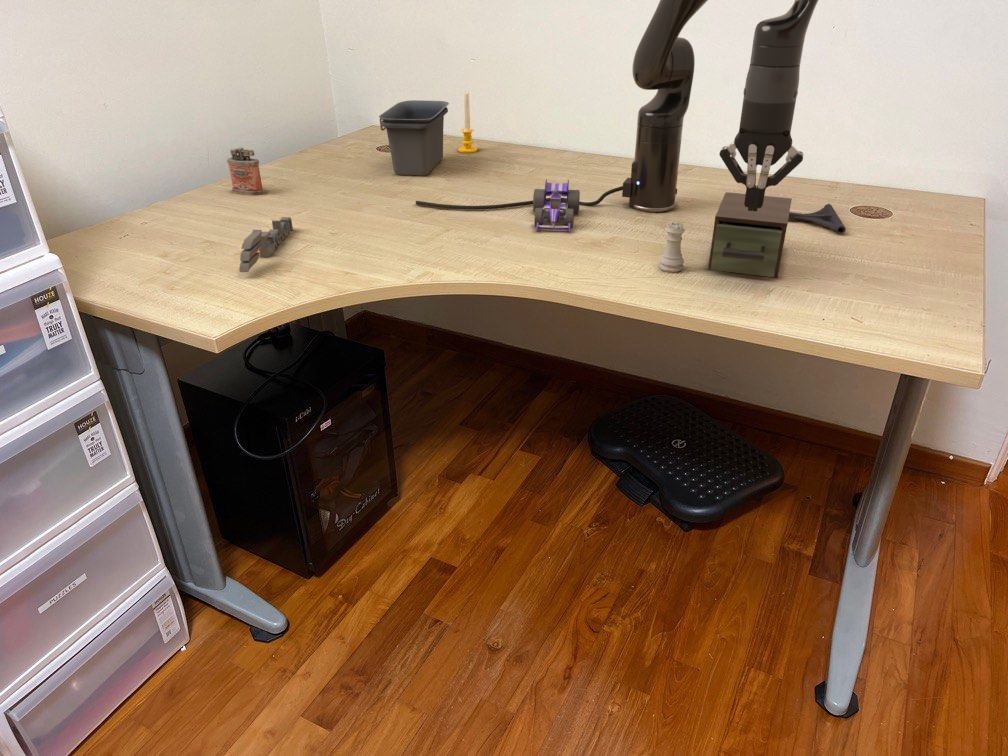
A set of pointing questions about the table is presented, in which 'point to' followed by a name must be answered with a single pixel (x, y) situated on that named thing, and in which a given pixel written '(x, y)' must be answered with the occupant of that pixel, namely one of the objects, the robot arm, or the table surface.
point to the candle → (467, 127)
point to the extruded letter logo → (263, 242)
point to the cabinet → (754, 217)
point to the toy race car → (555, 206)
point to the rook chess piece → (672, 249)
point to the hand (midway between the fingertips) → (752, 209)
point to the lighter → (245, 172)
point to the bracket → (820, 218)
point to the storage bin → (415, 135)
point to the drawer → (746, 248)
